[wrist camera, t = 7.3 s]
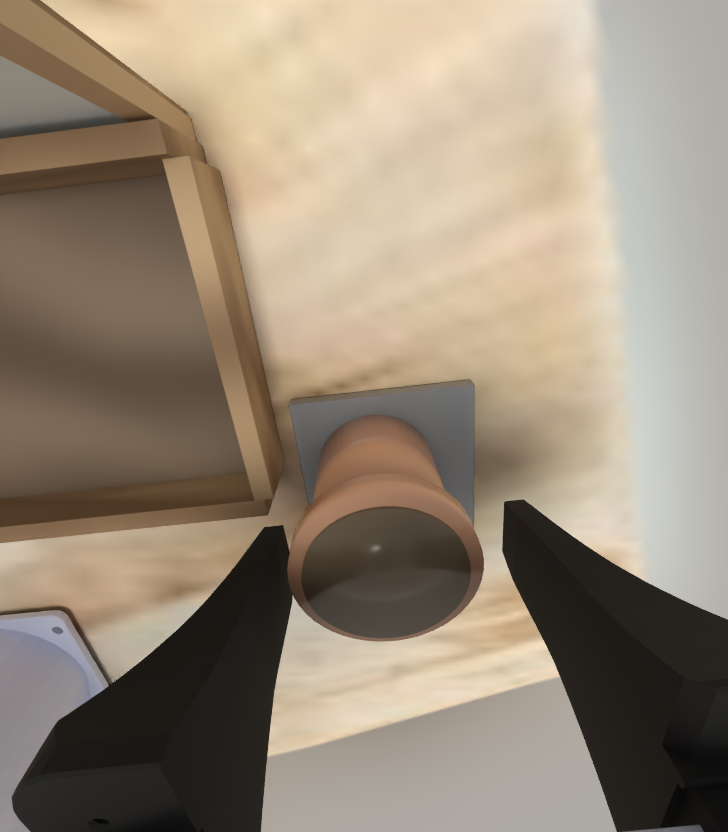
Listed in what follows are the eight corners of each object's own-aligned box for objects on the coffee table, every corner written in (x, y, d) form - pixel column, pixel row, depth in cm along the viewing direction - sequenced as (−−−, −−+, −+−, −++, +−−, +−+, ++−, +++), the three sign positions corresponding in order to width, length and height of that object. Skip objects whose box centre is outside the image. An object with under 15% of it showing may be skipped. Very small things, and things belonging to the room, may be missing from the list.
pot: (447, 509, 17) (490, 633, 12) (325, 528, 17) (312, 658, 12) (434, 393, 15) (479, 481, 10) (294, 418, 15) (261, 516, 10)
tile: (469, 523, 18) (473, 532, 18) (318, 539, 18) (317, 548, 18) (470, 379, 15) (474, 384, 15) (291, 399, 16) (288, 405, 15)
